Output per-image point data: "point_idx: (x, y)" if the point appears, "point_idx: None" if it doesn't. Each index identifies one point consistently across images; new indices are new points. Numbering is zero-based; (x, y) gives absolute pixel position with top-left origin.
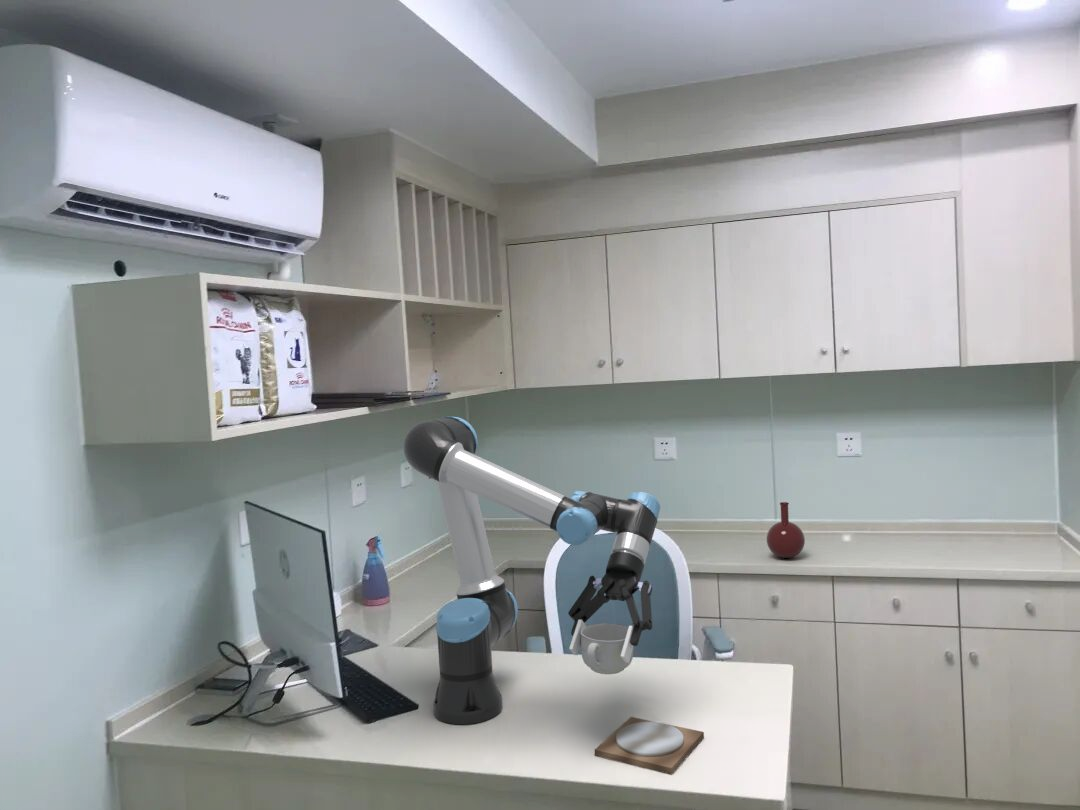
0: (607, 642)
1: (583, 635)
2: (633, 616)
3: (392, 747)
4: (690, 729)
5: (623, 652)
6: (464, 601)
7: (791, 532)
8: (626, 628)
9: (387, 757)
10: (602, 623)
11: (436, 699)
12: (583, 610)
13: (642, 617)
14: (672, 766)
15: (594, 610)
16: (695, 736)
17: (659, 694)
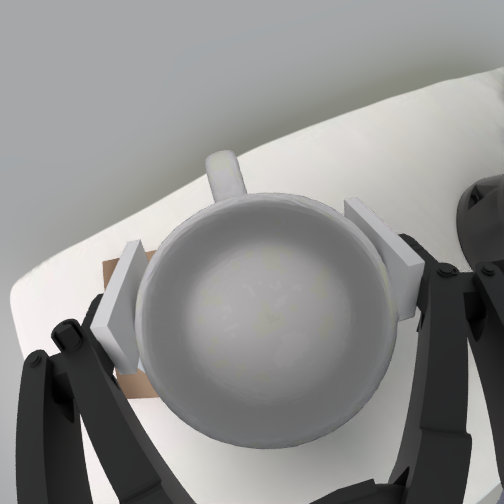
0: (184, 222)
1: (317, 203)
2: (87, 374)
3: (456, 109)
4: (142, 397)
5: (129, 248)
6: None
7: None
8: (231, 433)
9: (437, 92)
10: (362, 402)
11: None
12: (449, 304)
13: (44, 376)
14: (103, 266)
15: (415, 378)
16: (122, 377)
17: (290, 497)
